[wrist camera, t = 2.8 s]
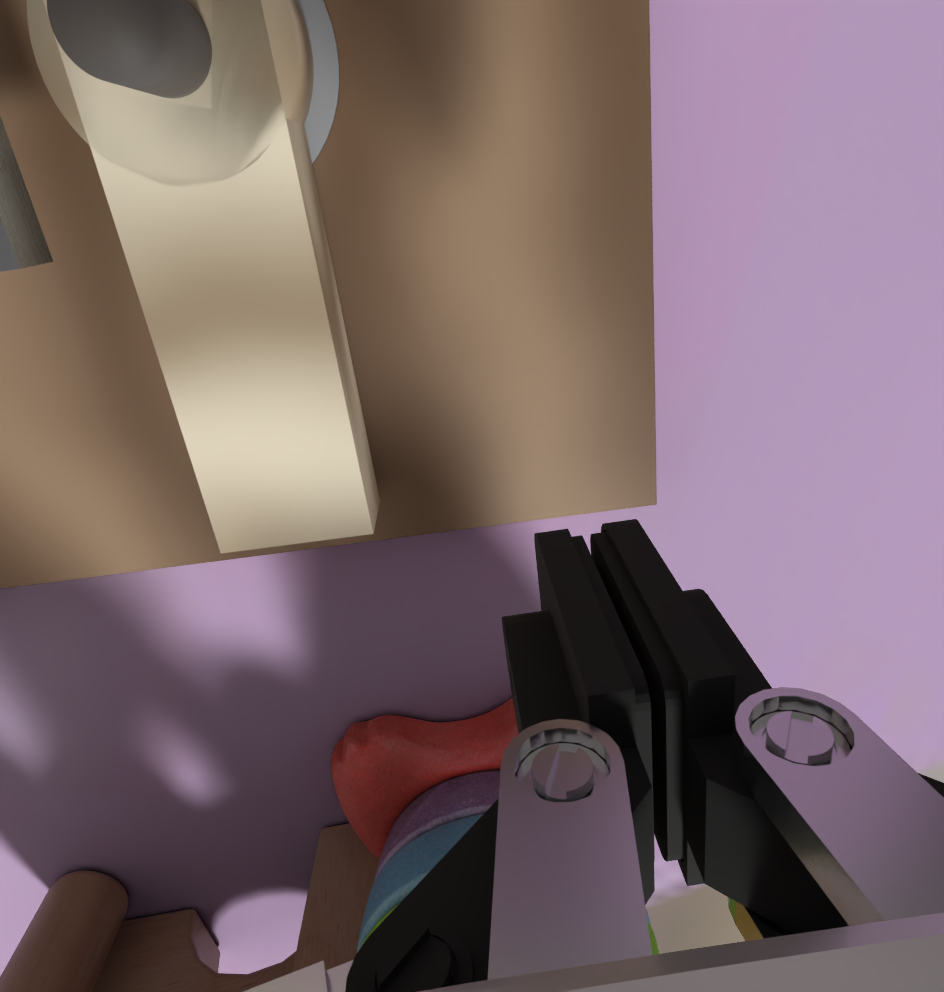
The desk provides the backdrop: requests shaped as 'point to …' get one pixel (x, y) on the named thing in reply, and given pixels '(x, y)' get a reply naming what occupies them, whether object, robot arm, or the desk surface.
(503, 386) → the base board
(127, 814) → the desk surface
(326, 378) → the link
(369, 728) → the stacking bear
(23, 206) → the keeper
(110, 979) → the wooden toy
